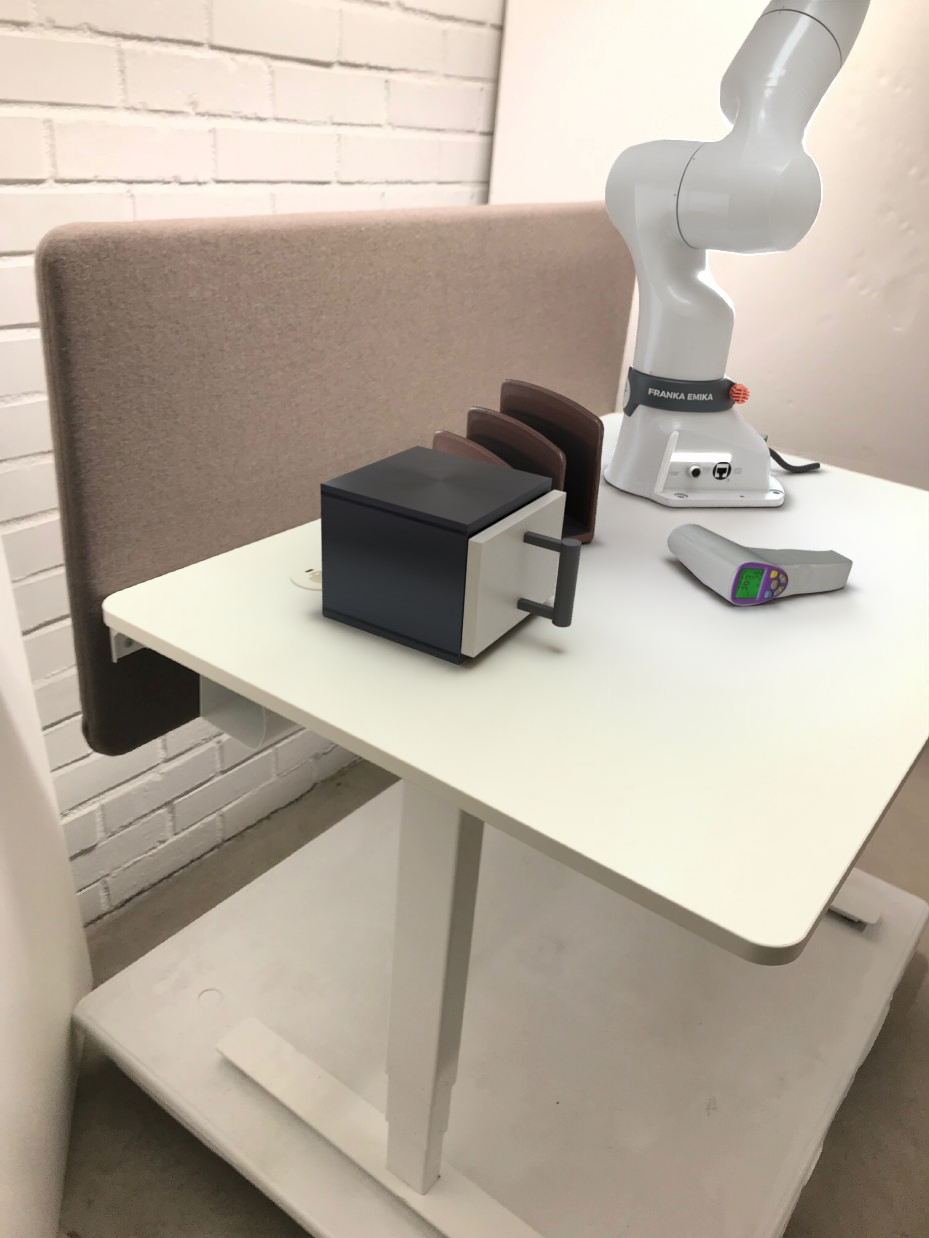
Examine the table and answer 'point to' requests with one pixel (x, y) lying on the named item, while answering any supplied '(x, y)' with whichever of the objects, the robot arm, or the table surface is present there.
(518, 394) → the letter holder
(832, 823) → the table surface
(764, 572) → the infrared thermometer
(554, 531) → the open pull-out drawer
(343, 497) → the cabinet
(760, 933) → the table surface
